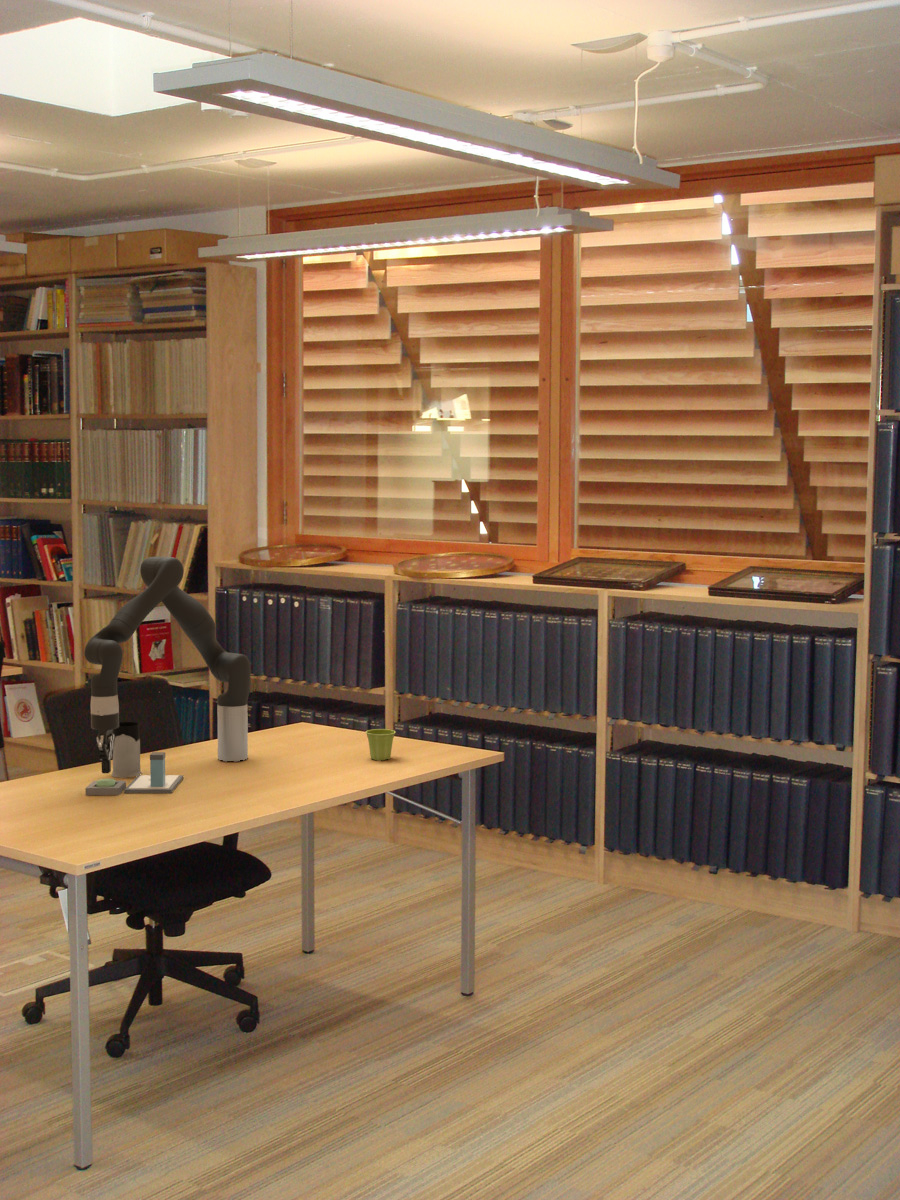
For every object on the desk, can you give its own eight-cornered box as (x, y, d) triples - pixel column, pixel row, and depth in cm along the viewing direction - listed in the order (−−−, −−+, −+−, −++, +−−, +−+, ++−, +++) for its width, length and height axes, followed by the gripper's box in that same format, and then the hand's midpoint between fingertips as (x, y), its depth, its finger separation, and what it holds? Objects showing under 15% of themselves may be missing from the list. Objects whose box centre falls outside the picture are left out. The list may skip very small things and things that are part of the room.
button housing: (93, 787, 361) (93, 780, 361) (125, 787, 361) (125, 780, 361) (85, 795, 352) (85, 788, 352) (118, 795, 352) (118, 788, 352)
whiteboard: (138, 778, 373) (138, 774, 372) (183, 778, 373) (183, 774, 373) (124, 793, 355) (124, 788, 355) (171, 793, 355) (171, 788, 355)
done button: (99, 787, 359) (98, 778, 359) (117, 787, 359) (116, 778, 359) (94, 791, 354) (94, 782, 354) (112, 791, 354) (112, 782, 354)
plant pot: (367, 755, 407) (367, 728, 406) (396, 756, 407) (396, 729, 406) (363, 761, 398) (364, 734, 397) (394, 762, 397) (394, 734, 397)
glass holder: (108, 777, 373) (107, 726, 372) (119, 767, 387) (119, 718, 386) (138, 777, 373) (137, 727, 372) (148, 767, 388) (148, 718, 386)
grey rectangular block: (152, 783, 361) (152, 752, 360) (165, 783, 361) (165, 752, 360) (150, 786, 357) (149, 754, 356) (163, 786, 357) (162, 754, 356)
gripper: (97, 707, 361) (98, 767, 363) (85, 715, 348) (86, 778, 350) (123, 706, 361) (125, 767, 363) (112, 715, 348) (114, 778, 350)
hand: (106, 772), depth 356 cm, fingers closed
